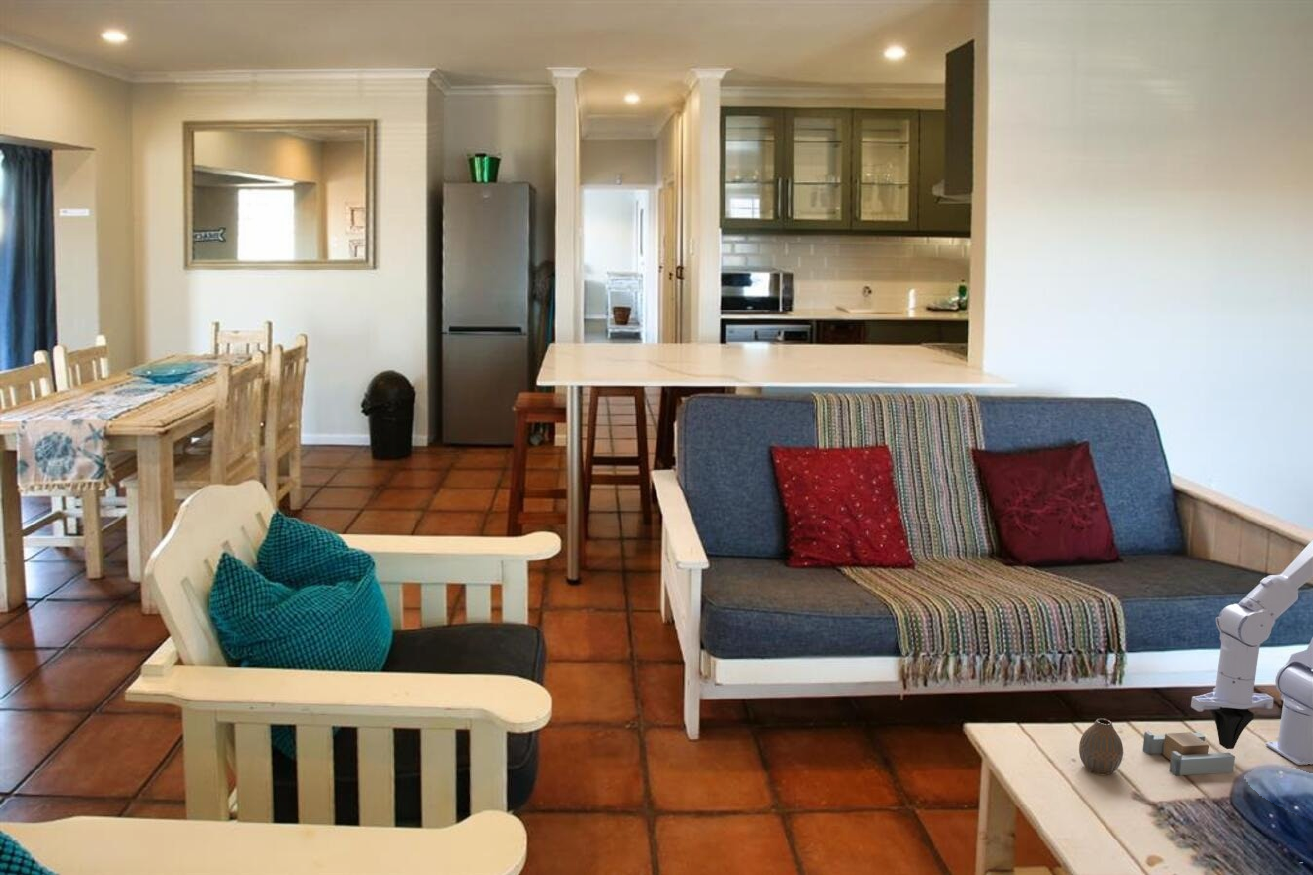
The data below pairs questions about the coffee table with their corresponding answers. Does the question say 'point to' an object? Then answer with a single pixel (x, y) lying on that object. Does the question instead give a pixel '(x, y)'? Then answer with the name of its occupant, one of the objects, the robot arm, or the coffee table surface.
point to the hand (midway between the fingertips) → (1226, 746)
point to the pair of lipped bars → (1190, 758)
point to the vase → (1101, 748)
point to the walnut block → (1184, 744)
